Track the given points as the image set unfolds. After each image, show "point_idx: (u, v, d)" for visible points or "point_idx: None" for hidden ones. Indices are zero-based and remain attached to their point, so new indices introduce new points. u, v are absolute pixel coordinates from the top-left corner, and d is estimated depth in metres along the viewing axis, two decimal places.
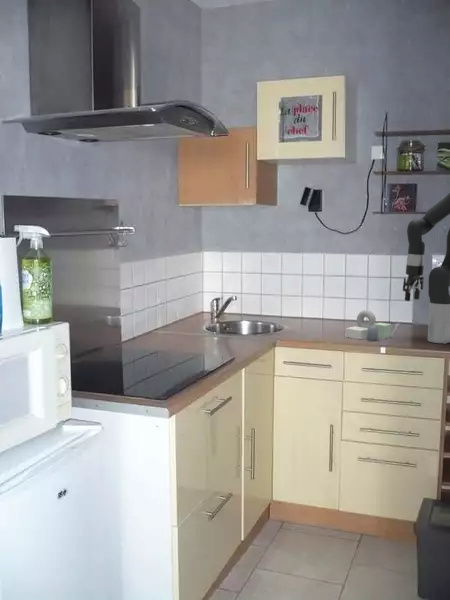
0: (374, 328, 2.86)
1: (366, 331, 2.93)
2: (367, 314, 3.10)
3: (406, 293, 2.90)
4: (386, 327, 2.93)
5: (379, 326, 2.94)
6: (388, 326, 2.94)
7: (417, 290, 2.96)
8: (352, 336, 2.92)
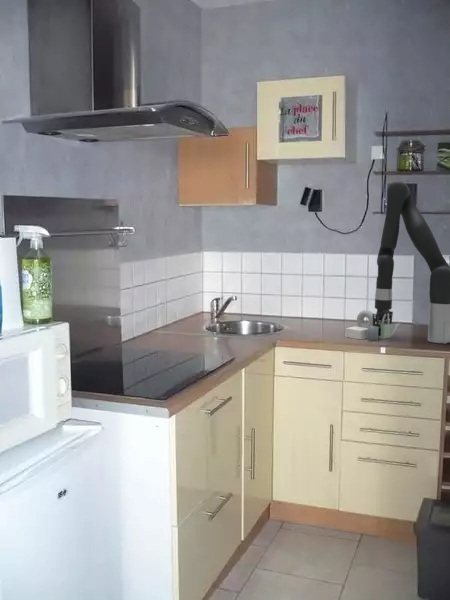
0: (374, 328, 2.86)
1: (366, 331, 2.93)
2: (367, 314, 3.10)
3: None
4: (386, 326, 2.93)
5: None
6: (388, 326, 2.94)
7: None
8: (352, 336, 2.92)
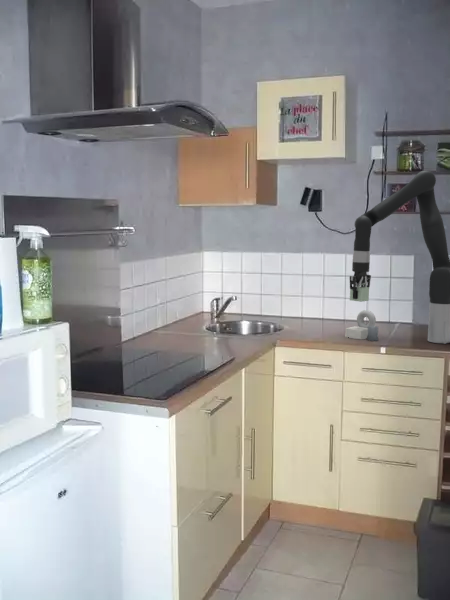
0: (374, 328, 2.86)
1: (366, 331, 2.93)
2: (367, 314, 3.10)
3: (353, 291, 2.90)
4: (363, 289, 2.90)
5: None
6: (365, 289, 2.91)
7: None
8: (352, 336, 2.92)
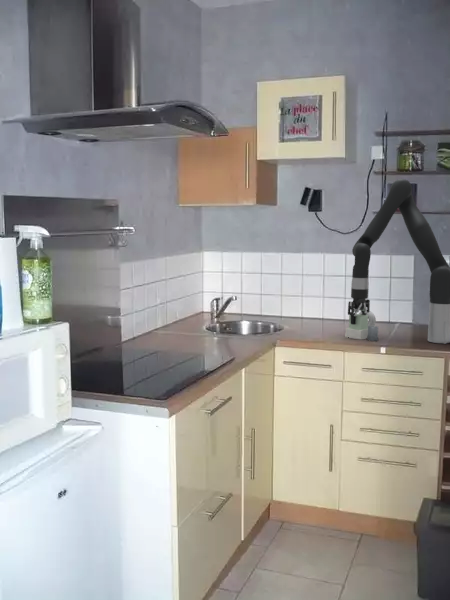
0: (374, 328, 2.86)
1: (366, 331, 2.93)
2: (367, 314, 3.10)
3: (351, 317, 2.90)
4: (362, 318, 2.91)
5: None
6: (364, 317, 2.92)
7: (363, 313, 2.97)
8: (352, 336, 2.92)
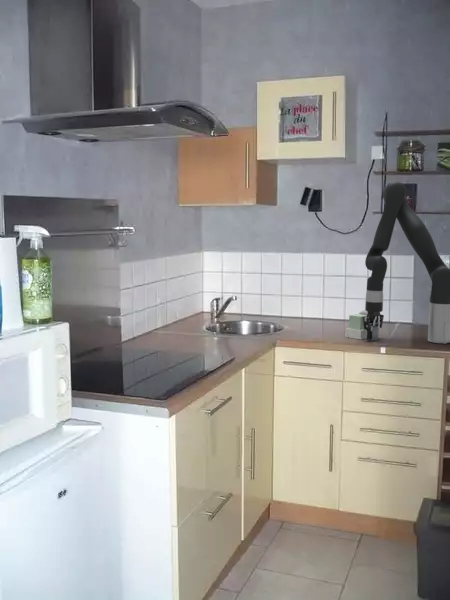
0: (374, 328, 2.86)
1: (366, 331, 2.93)
2: None
3: (368, 332, 2.86)
4: (362, 318, 2.91)
5: (355, 317, 2.92)
6: None
7: None
8: (352, 336, 2.92)
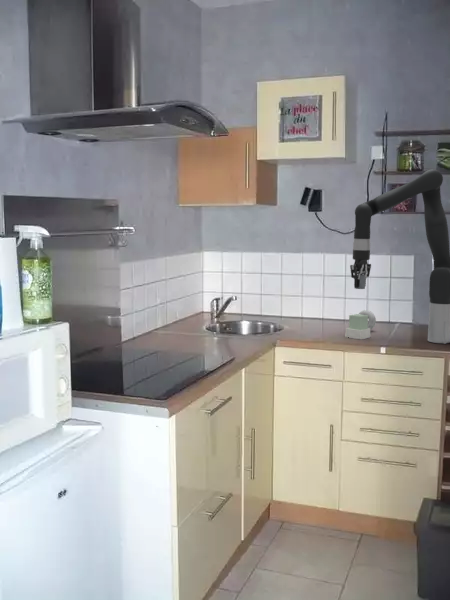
0: (361, 276, 2.89)
1: (366, 331, 2.93)
2: (367, 314, 3.10)
3: (355, 280, 2.89)
4: (362, 318, 2.91)
5: (355, 317, 2.92)
6: (364, 317, 2.92)
7: None
8: (352, 336, 2.92)
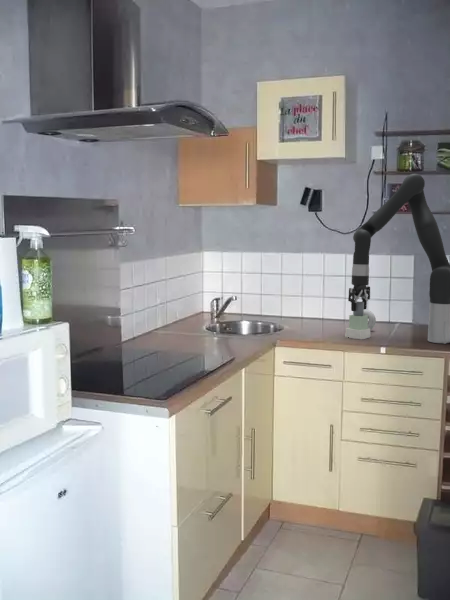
0: (360, 304, 2.91)
1: (366, 331, 2.93)
2: (367, 314, 3.10)
3: (352, 303, 2.90)
4: (362, 318, 2.91)
5: (355, 317, 2.92)
6: (364, 317, 2.92)
7: (364, 300, 2.96)
8: (352, 336, 2.92)
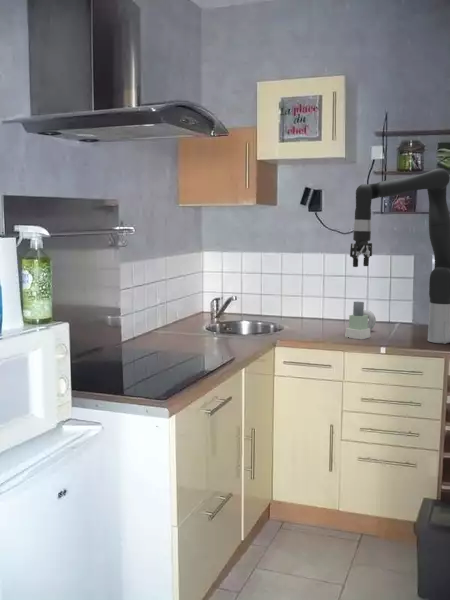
0: (360, 304, 2.91)
1: (366, 331, 2.93)
2: (367, 314, 3.10)
3: (354, 259, 2.87)
4: (362, 318, 2.91)
5: (355, 317, 2.92)
6: (364, 317, 2.92)
7: (366, 257, 2.93)
8: (352, 336, 2.92)
